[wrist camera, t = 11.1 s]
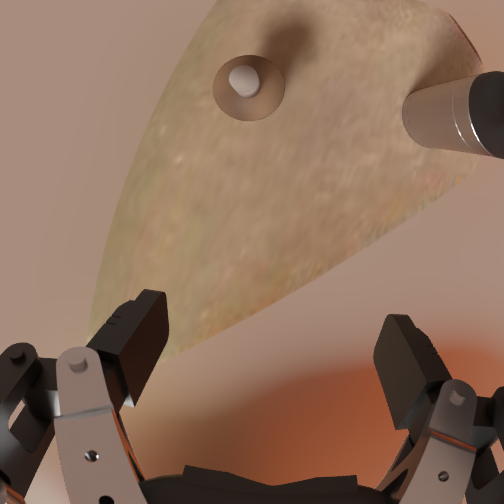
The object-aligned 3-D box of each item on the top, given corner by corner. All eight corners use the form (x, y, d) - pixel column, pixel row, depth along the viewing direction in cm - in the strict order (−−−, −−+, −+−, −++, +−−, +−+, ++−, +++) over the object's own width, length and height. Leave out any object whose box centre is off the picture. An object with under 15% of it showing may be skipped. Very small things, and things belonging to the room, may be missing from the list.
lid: (286, 59, 26) (288, 44, 21) (282, 123, 29) (283, 119, 24) (217, 56, 26) (205, 42, 21) (212, 119, 29) (199, 116, 24)
